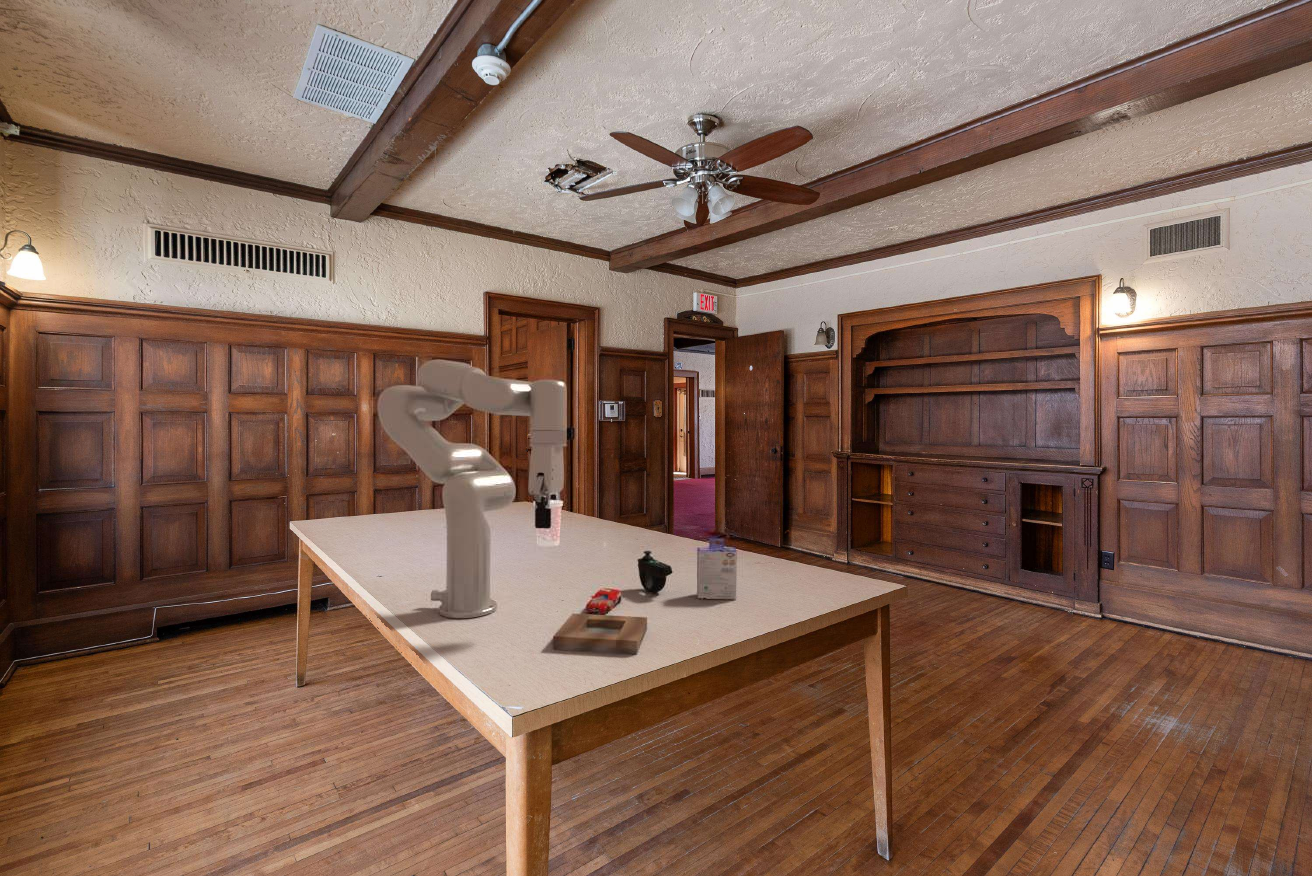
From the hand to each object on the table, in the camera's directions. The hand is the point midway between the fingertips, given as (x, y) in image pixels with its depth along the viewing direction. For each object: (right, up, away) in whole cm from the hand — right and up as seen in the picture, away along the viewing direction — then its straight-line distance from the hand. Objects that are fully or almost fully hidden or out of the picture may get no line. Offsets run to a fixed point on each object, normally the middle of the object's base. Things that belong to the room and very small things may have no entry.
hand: (548, 524), depth 122 cm
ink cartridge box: (+38, -22, +25) cm, 51 cm away
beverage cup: (0, -4, 0) cm, 4 cm away
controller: (+22, -22, +28) cm, 42 cm away
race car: (+10, -22, +15) cm, 29 cm away
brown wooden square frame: (+12, -22, -6) cm, 26 cm away
